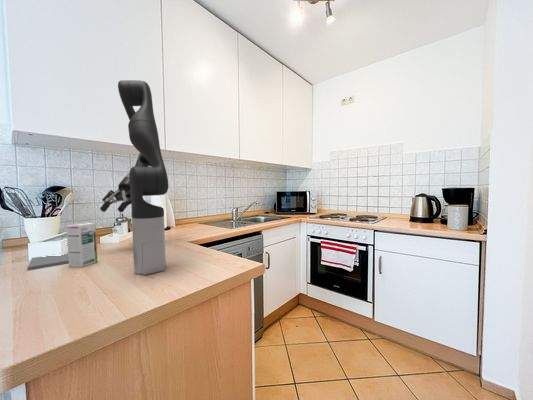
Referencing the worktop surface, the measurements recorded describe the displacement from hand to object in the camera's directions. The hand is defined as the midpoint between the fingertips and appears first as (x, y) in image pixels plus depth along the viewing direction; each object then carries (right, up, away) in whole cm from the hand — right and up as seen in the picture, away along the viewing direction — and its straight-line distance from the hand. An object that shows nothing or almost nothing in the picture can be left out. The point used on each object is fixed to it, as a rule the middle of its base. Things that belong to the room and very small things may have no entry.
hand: (110, 210), depth 90 cm
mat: (-16, -18, -7) cm, 26 cm away
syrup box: (-3, -18, -10) cm, 21 cm away
